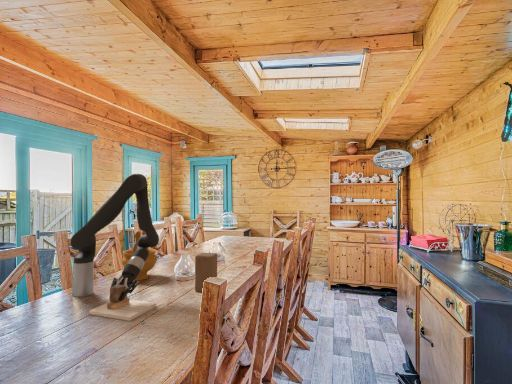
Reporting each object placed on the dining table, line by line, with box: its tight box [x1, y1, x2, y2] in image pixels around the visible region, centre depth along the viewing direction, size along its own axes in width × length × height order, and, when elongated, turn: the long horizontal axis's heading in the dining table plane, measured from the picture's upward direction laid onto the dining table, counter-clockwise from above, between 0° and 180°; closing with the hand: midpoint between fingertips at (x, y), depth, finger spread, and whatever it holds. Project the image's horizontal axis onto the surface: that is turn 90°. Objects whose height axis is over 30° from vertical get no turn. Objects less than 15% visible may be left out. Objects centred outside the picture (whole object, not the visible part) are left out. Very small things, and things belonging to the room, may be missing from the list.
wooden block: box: [194, 252, 218, 293], centre depth 171 cm, size 10×10×20 cm
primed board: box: [88, 298, 157, 322], centre depth 141 cm, size 22×18×2 cm
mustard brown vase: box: [121, 230, 158, 281], centre depth 196 cm, size 21×21×30 cm
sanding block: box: [107, 284, 131, 310], centre depth 142 cm, size 5×9×9 cm, turn 162°
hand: (115, 299), depth 140 cm, fingers closed on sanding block, 4 cm apart
